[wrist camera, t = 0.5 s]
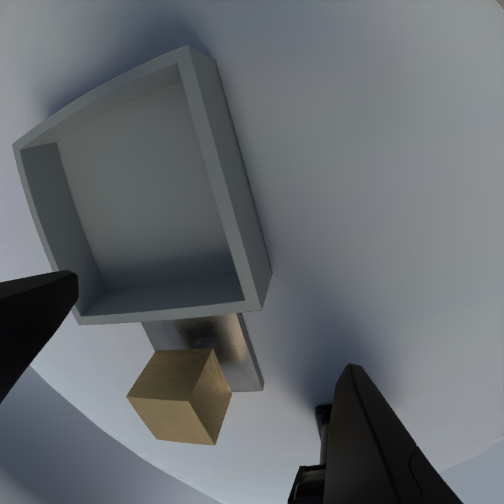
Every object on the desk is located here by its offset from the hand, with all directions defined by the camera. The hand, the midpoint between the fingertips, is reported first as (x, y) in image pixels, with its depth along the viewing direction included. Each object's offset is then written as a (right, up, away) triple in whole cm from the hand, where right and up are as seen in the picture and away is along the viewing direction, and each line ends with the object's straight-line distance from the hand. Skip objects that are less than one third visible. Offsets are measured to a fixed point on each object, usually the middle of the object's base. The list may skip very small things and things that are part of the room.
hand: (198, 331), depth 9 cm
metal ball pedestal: (-3, -7, +18) cm, 20 cm away
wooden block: (-3, -8, +16) cm, 18 cm away
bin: (-6, +7, +14) cm, 16 cm away
